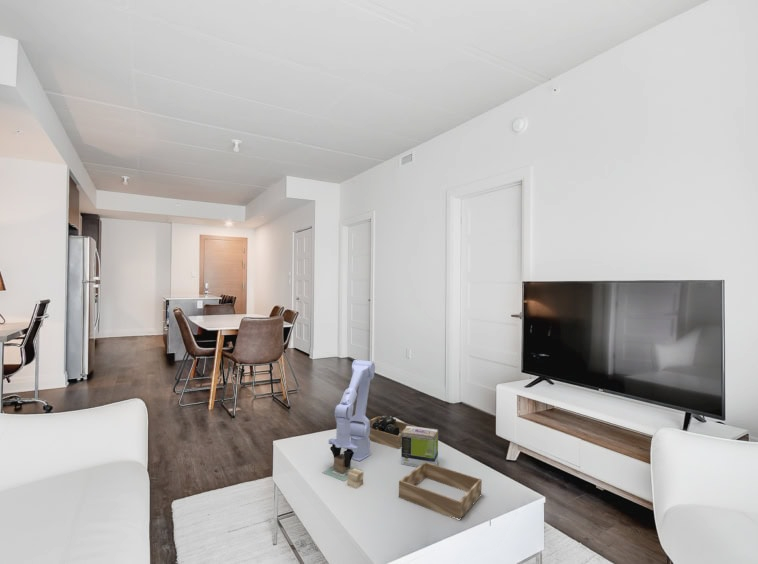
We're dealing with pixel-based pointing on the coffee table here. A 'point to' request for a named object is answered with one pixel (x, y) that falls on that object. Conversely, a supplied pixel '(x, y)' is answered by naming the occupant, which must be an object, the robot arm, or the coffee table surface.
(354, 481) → the maple block
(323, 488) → the coffee table surface
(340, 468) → the walnut block
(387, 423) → the film camera
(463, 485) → the box
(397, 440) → the camera crate
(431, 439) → the tea box
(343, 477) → the build mat
